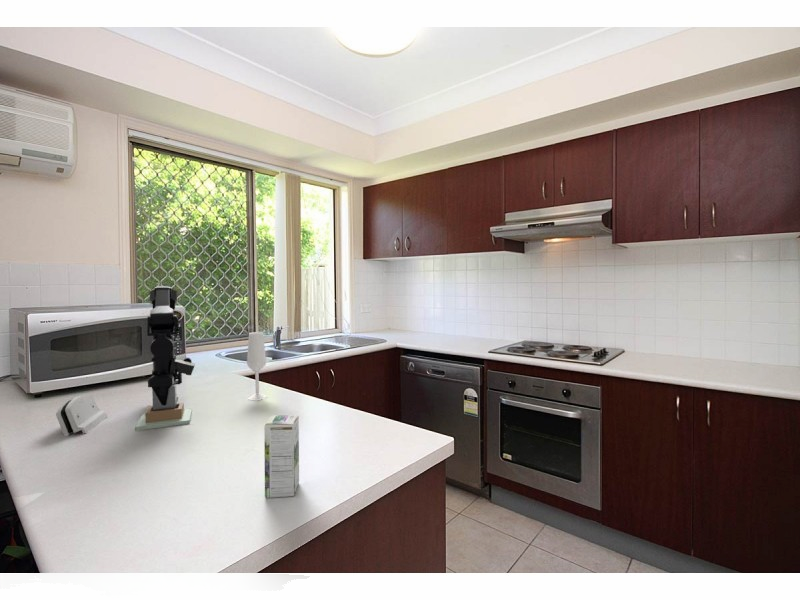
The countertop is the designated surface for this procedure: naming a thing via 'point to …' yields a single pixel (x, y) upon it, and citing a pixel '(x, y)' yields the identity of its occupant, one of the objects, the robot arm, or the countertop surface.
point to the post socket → (164, 417)
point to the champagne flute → (256, 359)
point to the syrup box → (281, 456)
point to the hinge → (79, 415)
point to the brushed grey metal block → (170, 400)
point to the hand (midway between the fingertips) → (165, 403)
